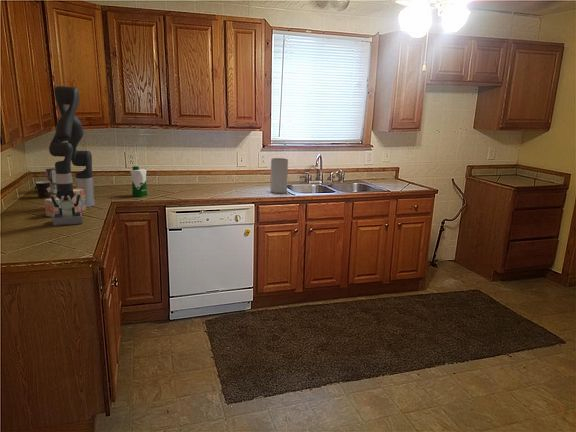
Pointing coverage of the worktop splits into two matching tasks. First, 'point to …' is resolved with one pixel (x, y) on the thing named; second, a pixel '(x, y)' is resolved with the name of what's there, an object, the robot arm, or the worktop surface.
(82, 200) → the stack of blocks
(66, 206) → the sage block
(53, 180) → the coffee box
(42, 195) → the coffee mug
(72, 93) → the robot arm
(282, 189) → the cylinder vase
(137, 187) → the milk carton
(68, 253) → the worktop surface
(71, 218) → the bin
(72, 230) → the worktop surface
